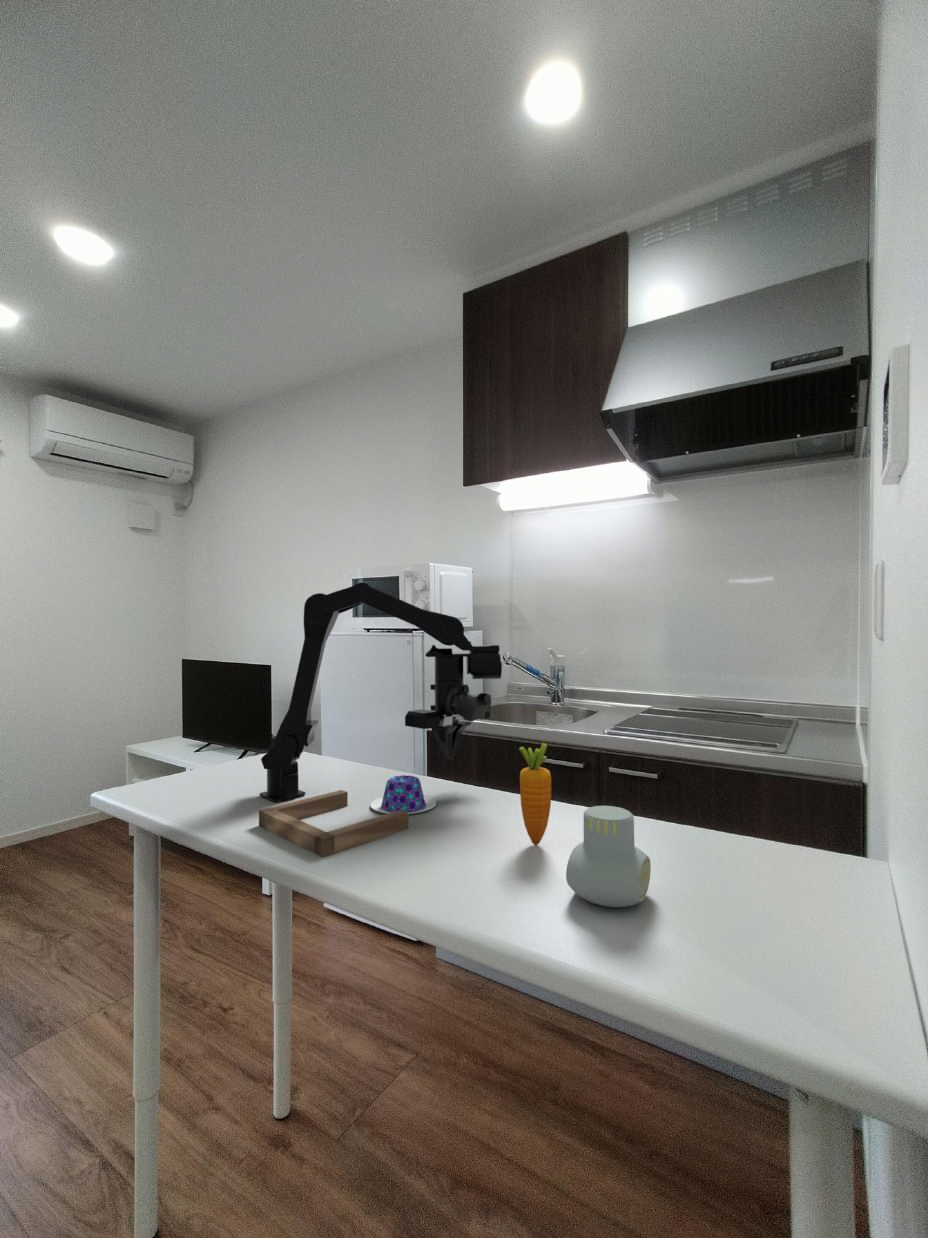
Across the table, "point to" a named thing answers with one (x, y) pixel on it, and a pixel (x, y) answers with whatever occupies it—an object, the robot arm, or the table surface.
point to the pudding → (403, 796)
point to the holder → (326, 843)
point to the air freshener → (609, 860)
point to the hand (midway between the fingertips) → (449, 758)
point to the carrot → (535, 793)
